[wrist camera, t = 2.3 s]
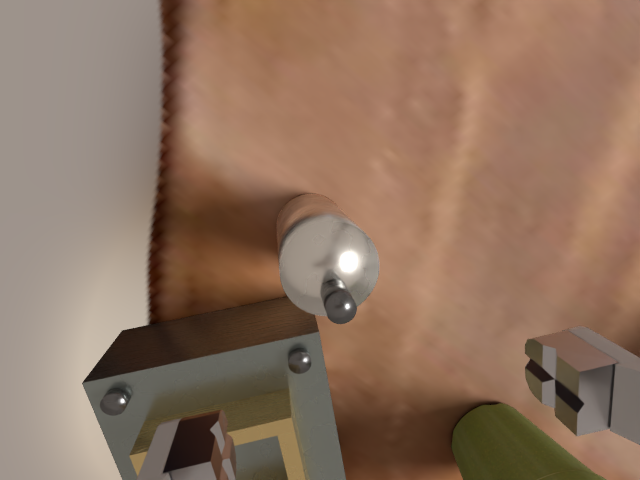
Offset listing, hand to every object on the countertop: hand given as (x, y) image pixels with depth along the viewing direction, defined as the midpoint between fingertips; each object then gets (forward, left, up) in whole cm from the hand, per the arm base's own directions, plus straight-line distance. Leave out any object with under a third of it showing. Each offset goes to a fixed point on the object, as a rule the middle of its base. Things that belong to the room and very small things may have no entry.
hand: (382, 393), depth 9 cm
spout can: (0, 0, -18) cm, 18 cm away
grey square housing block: (+13, -8, -18) cm, 23 cm away
